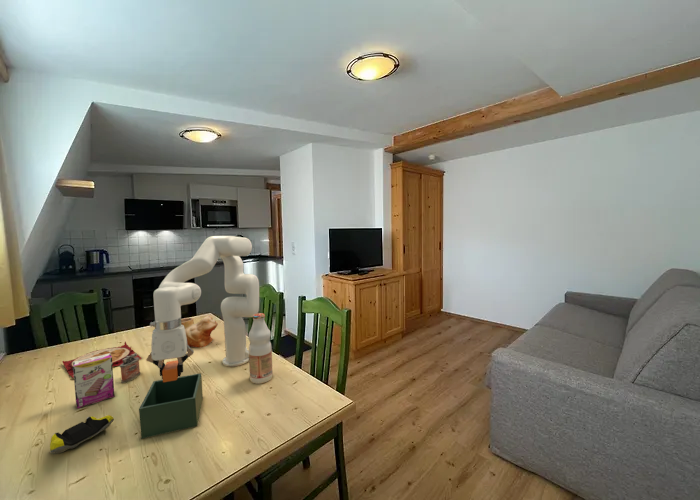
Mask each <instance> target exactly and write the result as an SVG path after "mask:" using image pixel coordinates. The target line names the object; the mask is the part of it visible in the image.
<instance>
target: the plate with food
mask: <svg viewBox="0 0 700 500" xmlns="http://www.w3.org/2000/svg"><path fill="white" fill-rule="evenodd" d="M109 353H110V354H111V356H112V367H113V368H114V367H120V365H121V364H122V363H123V359H124V358H126V356H131V355H132V354H134V353H136V352H135V351H134V349H132V346H129V345H128V344H127V342H126V341H124V343H123V344H122V345H121V346H113V347H107V348H101V349H98V350H97V349H96V350H93V351H90V352H88V353H87V352H86V353H84V354H82V355H79V356H78V357H76V358H74V359H70V360H62V361H61V362H62V364H63V366H64V368H65V369H66V372H67V374H68V375H69V376H70V377H71V378H73V379H74V372H73V362H75V361H79V360H83V359H88V358H92V357H96V356H100V355H105V354H109ZM136 357H138V358H139V360H141V359H143V358H142V357H141V356H140V355H138V354H137V356H136ZM136 357H134V358H136Z"/></svg>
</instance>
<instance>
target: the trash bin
mask: <svg viewBox="0 0 700 500" xmlns="http://www.w3.org/2000/svg"><path fill="white" fill-rule="evenodd" d="M202 379H203V378H202V372H200V373H199V372H198V373H193V374H188V375H187V374H186V375H183V376H182V375H181V376H179V377H178V378H177V380H174V381H169V382H163V379H158V380H153V382H152V383H151V385H150V387H149V389H148V390H147V393H146V395H145V397H144V398H143V401H142V403H141V404H140V406H139V408H138V414H139V427H140V428H139V429H140V439H141V440H142V439H148V438H151V437H157V436H159V435H160V436H161V435H165V434H170V433H173V432H178V431H183V430H187V429H191V428H196V427H198V424H199V418H200V415H201V414H200V413H201V408H202V403H203V399H204V397H203V395H204V394H203V380H202Z"/></svg>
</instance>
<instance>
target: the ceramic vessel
mask: <svg viewBox="0 0 700 500" xmlns="http://www.w3.org/2000/svg"><path fill="white" fill-rule="evenodd" d="M181 323H182V325H184V328H185V332H186V337H187V344H188V346H189V347H190V348H199V349H201V348H205V347H206V346H208V345H210V344H211V343H212V341H213V337H212V336H211V335H212V332H214V331H215V330H216V328H217V327H218V325H219V323H218V322H217V320H215V319H213V317H212V316H211V315H207V316H204V317H203V318H201V319H200V320H199V321H198V322H196V323H195V322H194V318H193V317H184V318H181Z"/></svg>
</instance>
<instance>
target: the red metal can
mask: <svg viewBox="0 0 700 500" xmlns="http://www.w3.org/2000/svg"><path fill="white" fill-rule="evenodd" d="M137 355H138V353H137V352H135V353H134V354H132V355H131V356H126V358H124V359H123V363H122V364H121V365H119V367H120V376H121V380H120V383H121V384H124V383H128V382H130V381H132V380H134V379H136V378H137V377H139V376H140V375H141V371H140V359H139V358H138V357H136V356H137ZM134 357H136V358H134Z"/></svg>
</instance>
